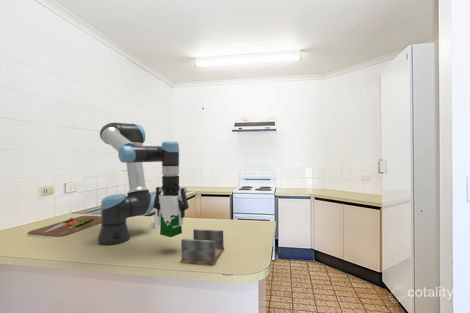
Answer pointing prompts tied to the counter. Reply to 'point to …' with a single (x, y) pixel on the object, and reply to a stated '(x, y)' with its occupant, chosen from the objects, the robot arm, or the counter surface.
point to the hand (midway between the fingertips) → (171, 224)
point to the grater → (157, 219)
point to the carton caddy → (203, 247)
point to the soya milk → (170, 215)
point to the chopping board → (66, 227)
